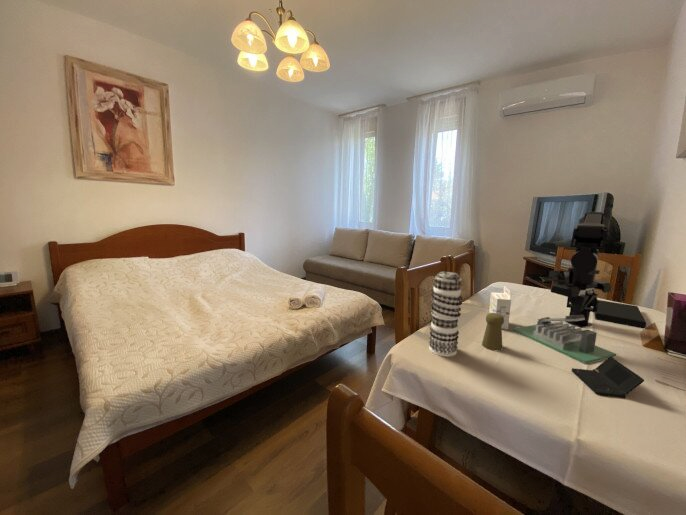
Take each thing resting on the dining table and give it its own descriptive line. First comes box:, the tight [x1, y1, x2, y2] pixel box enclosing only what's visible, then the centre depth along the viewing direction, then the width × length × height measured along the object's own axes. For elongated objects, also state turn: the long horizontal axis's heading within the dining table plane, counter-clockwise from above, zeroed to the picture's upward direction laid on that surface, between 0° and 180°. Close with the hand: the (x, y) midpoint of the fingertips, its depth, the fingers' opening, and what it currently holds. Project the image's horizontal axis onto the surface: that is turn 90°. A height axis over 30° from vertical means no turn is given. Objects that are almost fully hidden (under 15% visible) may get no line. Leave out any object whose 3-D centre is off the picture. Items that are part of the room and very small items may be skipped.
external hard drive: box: [593, 299, 647, 330], centre depth 121 cm, size 14×23×3 cm, turn 140°
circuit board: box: [512, 324, 617, 365], centre depth 97 cm, size 14×24×1 cm, turn 19°
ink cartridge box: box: [488, 285, 512, 330], centre depth 110 cm, size 9×5×15 cm, turn 168°
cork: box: [481, 313, 504, 351], centre depth 93 cm, size 6×6×11 cm
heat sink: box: [533, 321, 598, 353], centre depth 96 cm, size 12×16×6 cm
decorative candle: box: [428, 271, 463, 358], centre depth 89 cm, size 9×9×25 cm
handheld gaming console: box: [571, 357, 645, 399], centre depth 74 cm, size 12×7×10 cm
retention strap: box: [537, 315, 585, 322], centre depth 97 cm, size 4×12×2 cm, turn 19°
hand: (576, 313), depth 92 cm, fingers closed
